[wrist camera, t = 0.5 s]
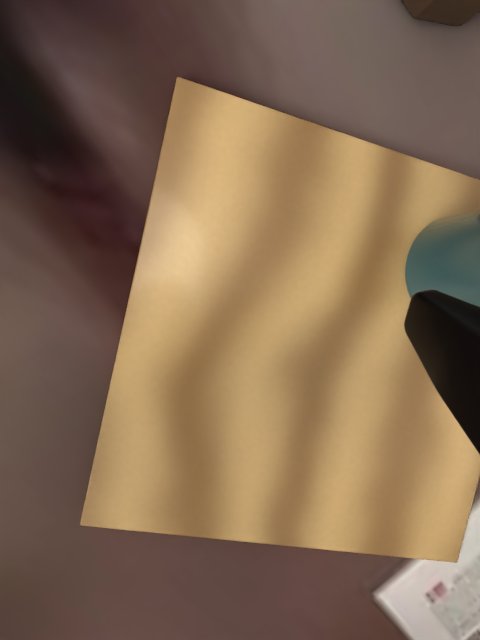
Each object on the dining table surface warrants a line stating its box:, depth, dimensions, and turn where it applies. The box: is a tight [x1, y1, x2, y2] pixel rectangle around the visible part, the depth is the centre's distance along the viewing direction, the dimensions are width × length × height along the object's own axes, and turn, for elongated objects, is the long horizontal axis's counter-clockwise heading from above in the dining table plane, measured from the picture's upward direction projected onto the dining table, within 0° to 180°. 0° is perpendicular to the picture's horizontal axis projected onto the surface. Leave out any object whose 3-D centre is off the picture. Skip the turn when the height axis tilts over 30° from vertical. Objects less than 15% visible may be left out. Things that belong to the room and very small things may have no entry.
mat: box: [80, 77, 480, 562], centre depth 24 cm, size 24×24×1 cm
